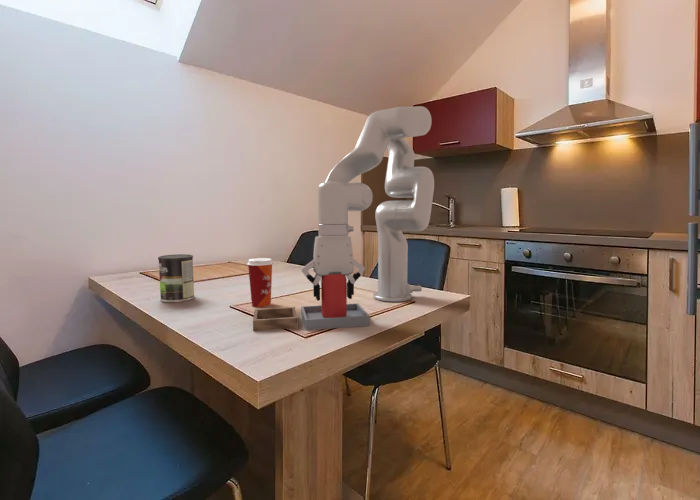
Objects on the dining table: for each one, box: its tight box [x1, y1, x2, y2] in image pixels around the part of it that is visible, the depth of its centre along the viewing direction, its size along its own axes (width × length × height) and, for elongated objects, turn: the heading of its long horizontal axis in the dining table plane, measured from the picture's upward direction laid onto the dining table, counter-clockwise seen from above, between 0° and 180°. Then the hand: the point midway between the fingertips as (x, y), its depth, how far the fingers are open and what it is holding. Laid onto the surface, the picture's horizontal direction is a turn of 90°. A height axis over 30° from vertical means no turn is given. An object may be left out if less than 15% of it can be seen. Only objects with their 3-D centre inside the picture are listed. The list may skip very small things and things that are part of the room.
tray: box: [300, 303, 371, 331], centre depth 98 cm, size 16×13×2 cm
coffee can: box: [157, 253, 195, 303], centre depth 122 cm, size 10×10×14 cm
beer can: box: [320, 272, 348, 318], centre depth 98 cm, size 7×7×12 cm
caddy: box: [252, 306, 299, 332], centre depth 96 cm, size 11×11×2 cm
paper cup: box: [246, 257, 274, 308], centre depth 114 cm, size 8×8×14 cm
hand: (333, 298), depth 98 cm, fingers open, 7 cm apart
